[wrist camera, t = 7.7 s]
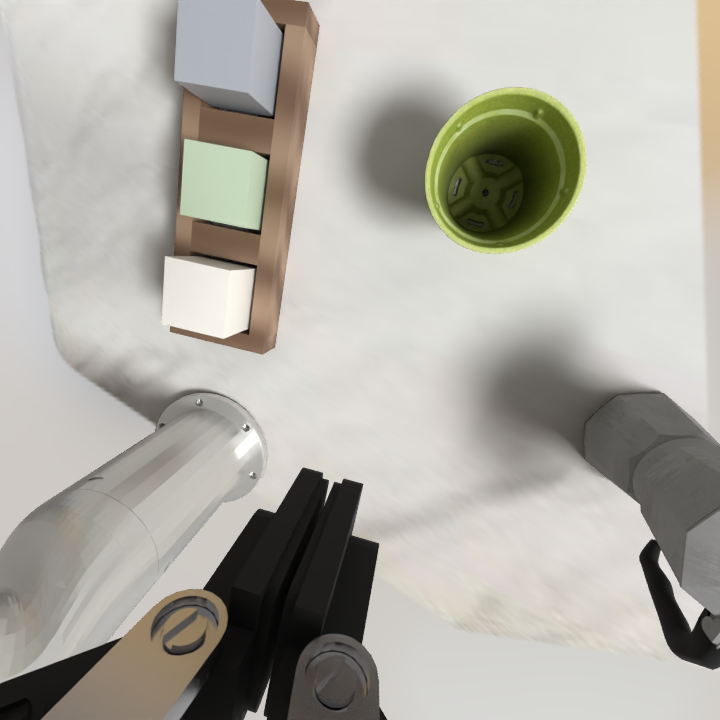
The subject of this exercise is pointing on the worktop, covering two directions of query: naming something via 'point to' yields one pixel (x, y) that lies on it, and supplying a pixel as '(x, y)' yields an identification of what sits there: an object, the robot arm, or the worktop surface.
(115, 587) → the robot arm
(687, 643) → the coffeepot
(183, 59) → the grey button
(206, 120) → the button housing
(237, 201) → the sage button
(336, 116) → the worktop surface
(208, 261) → the white button
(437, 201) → the plant pot
